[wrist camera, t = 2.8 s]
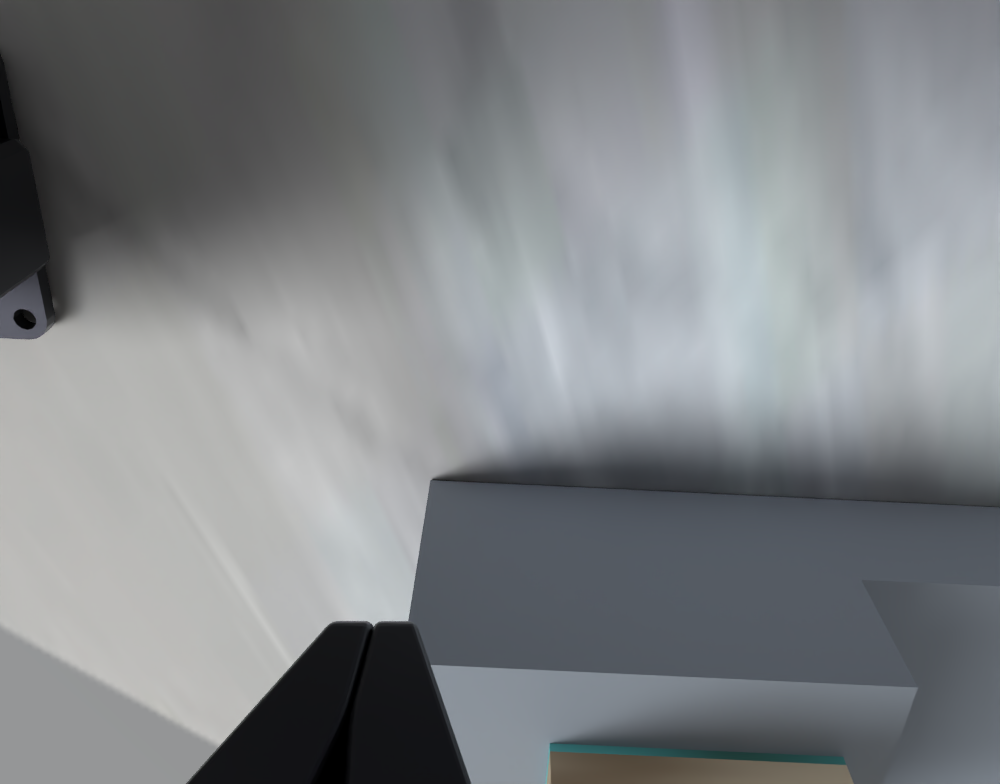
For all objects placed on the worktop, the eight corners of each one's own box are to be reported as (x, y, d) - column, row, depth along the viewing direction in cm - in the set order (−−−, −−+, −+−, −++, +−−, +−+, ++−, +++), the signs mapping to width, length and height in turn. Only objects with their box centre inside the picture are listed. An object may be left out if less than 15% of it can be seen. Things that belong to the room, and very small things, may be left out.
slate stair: (427, 750, 27) (404, 965, 22) (430, 480, 23) (401, 663, 17) (1023, 778, 27) (1154, 999, 22) (1146, 514, 23) (1354, 708, 17)
